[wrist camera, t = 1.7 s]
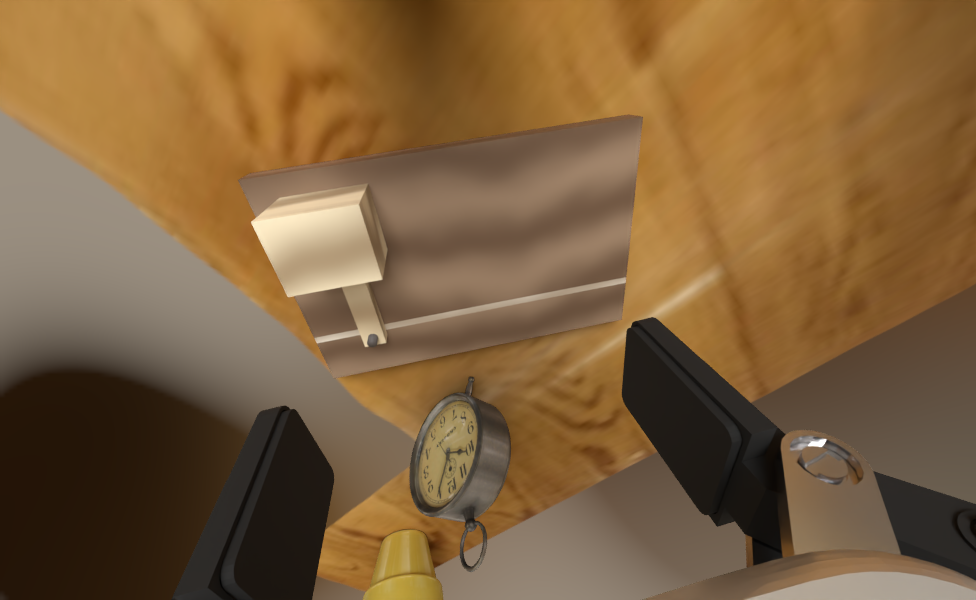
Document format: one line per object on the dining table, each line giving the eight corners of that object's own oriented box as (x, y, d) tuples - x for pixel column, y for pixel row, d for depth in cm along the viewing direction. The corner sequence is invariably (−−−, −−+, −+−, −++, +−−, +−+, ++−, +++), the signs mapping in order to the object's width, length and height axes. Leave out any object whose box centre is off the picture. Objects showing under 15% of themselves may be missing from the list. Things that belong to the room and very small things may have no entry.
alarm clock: (466, 363, 37) (496, 525, 24) (504, 383, 40) (550, 540, 26) (406, 425, 41) (402, 599, 27) (445, 440, 43) (458, 606, 30)
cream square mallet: (279, 197, 24) (250, 222, 20) (368, 183, 25) (358, 204, 21) (342, 343, 31) (331, 384, 27) (411, 329, 32) (410, 367, 27)
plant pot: (403, 513, 50) (401, 599, 41) (453, 534, 55) (460, 614, 46) (352, 547, 52) (341, 635, 44) (405, 564, 57) (403, 645, 49)
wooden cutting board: (249, 173, 25) (238, 180, 23) (628, 114, 27) (642, 116, 26) (337, 364, 35) (333, 378, 33) (612, 308, 37) (621, 319, 35)
